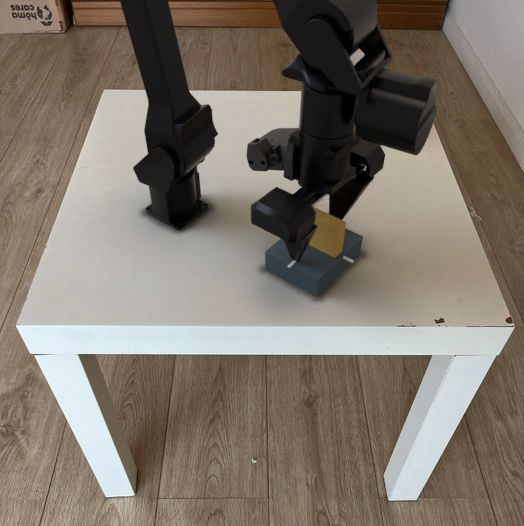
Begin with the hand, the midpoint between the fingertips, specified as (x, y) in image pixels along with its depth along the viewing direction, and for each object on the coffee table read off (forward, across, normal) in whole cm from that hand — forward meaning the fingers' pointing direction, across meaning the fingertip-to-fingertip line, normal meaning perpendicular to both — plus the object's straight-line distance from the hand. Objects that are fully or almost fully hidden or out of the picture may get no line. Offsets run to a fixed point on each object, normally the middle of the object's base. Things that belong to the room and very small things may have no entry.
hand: (315, 242), depth 72 cm
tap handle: (0, 0, 0) cm, 0 cm away
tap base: (+3, 0, 0) cm, 3 cm away
